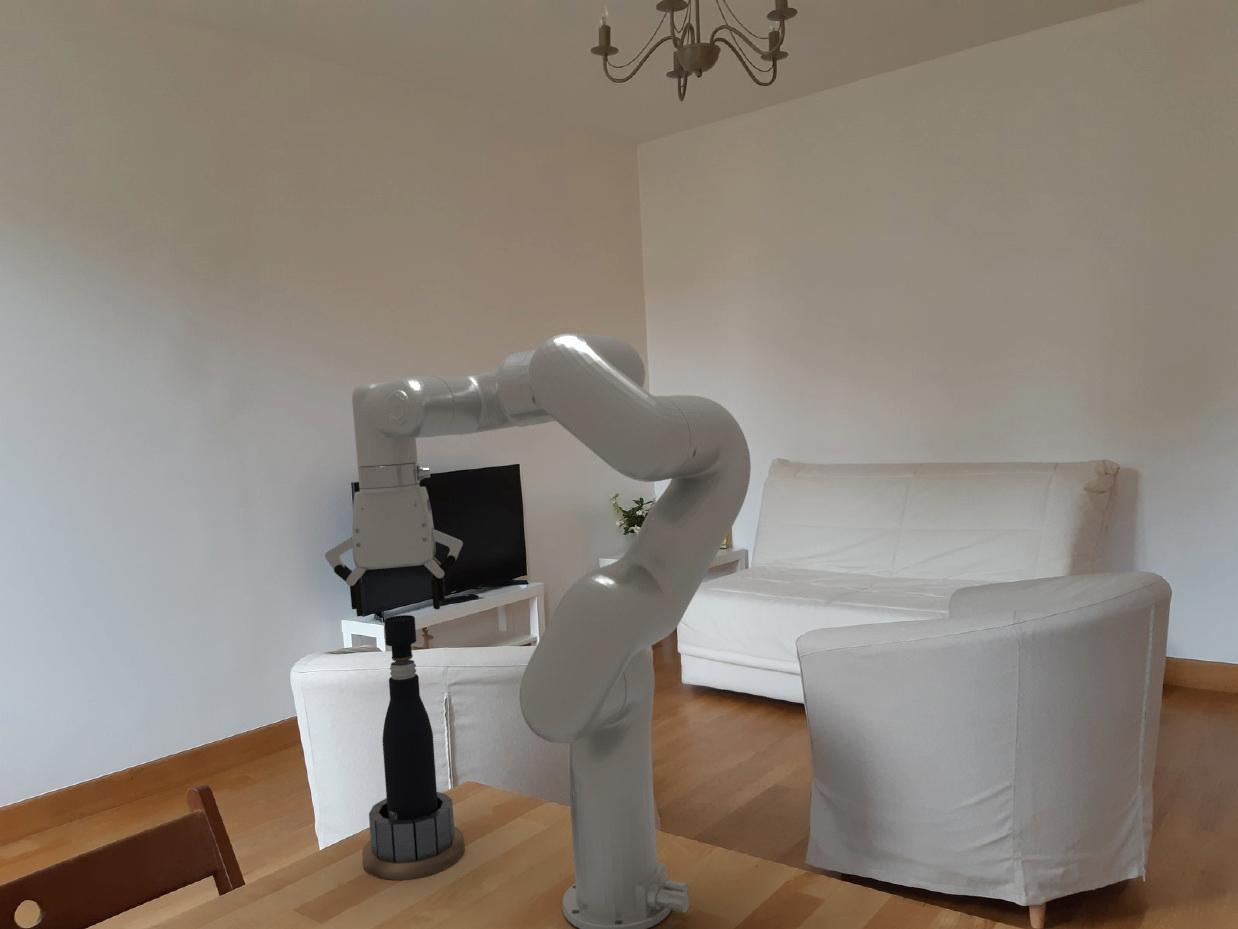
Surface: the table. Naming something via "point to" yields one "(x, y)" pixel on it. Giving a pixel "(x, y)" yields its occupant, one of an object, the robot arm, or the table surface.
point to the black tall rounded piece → (407, 731)
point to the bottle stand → (412, 843)
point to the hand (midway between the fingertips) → (399, 610)
